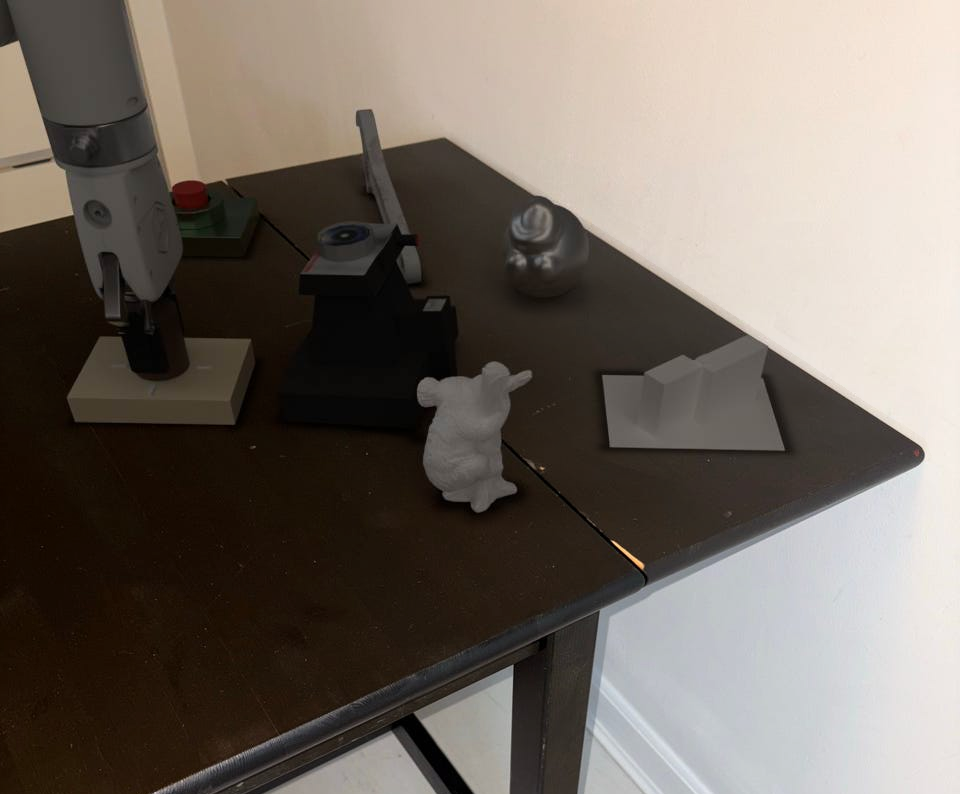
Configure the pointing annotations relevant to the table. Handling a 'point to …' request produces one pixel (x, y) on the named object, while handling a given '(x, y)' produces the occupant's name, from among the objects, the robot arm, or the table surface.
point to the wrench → (385, 191)
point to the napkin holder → (695, 403)
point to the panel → (164, 385)
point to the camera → (366, 333)
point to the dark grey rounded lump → (544, 248)
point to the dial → (167, 337)
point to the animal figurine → (469, 434)
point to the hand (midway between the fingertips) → (159, 352)
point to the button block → (217, 226)
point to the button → (190, 194)
